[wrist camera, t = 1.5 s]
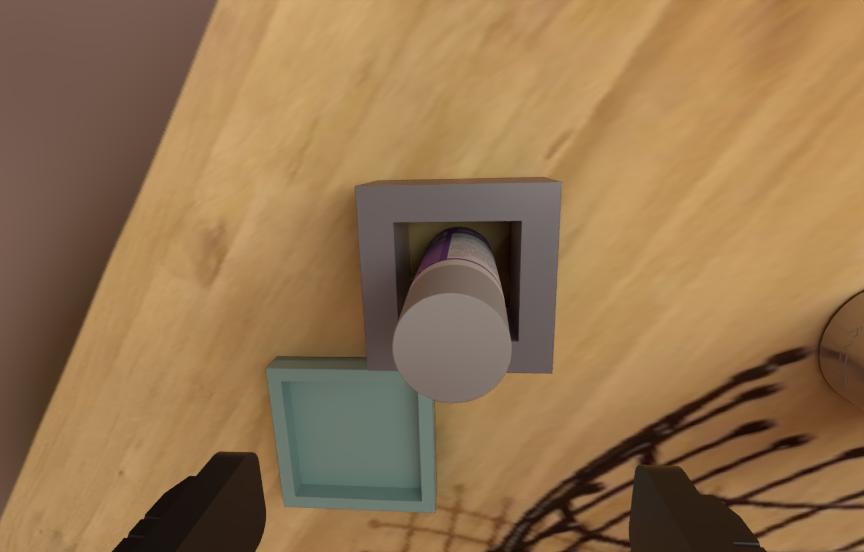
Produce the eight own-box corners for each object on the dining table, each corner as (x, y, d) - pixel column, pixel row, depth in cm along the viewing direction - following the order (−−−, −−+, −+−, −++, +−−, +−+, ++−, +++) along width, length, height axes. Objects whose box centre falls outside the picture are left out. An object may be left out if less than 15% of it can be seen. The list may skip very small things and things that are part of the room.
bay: (543, 177, 29) (561, 181, 23) (537, 334, 32) (552, 373, 26) (377, 180, 30) (355, 186, 24) (385, 332, 33) (367, 370, 27)
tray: (433, 358, 33) (431, 370, 31) (437, 493, 36) (435, 513, 34) (277, 356, 34) (265, 368, 32) (293, 488, 37) (284, 506, 35)
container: (437, 299, 32) (411, 418, 17) (417, 237, 31) (370, 309, 16) (501, 281, 31) (529, 390, 16) (482, 217, 30) (495, 274, 15)
